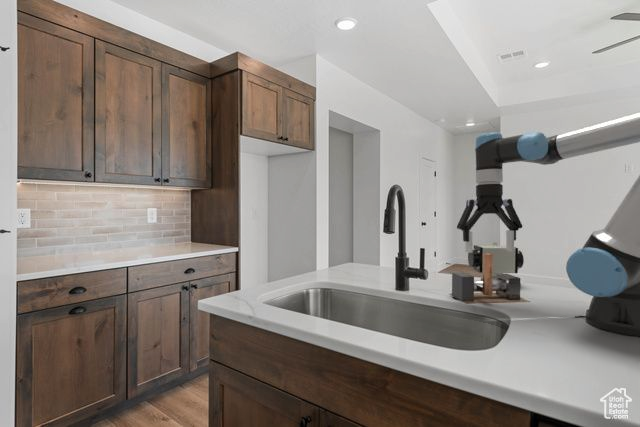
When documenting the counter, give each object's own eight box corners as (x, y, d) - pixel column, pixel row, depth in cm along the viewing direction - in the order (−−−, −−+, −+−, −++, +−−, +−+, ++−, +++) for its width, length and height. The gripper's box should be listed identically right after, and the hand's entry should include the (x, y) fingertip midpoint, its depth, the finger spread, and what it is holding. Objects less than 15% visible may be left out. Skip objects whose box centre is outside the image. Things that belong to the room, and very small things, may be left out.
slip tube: (514, 289, 120) (514, 249, 119) (535, 297, 109) (535, 253, 109) (458, 290, 118) (459, 250, 117) (474, 298, 108) (475, 254, 107)
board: (530, 304, 112) (531, 301, 112) (465, 306, 110) (465, 303, 110) (507, 294, 124) (507, 292, 124) (448, 295, 122) (448, 293, 122)
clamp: (520, 299, 114) (520, 278, 114) (508, 300, 114) (508, 278, 114) (506, 294, 121) (507, 273, 121) (495, 294, 121) (496, 274, 121)
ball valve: (513, 285, 137) (513, 241, 137) (523, 291, 129) (524, 243, 128) (466, 284, 139) (466, 240, 138) (473, 289, 131) (474, 242, 130)
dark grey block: (473, 301, 113) (474, 276, 112) (462, 301, 112) (462, 276, 112) (463, 295, 120) (463, 272, 119) (451, 295, 119) (452, 272, 119)
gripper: (518, 184, 113) (519, 249, 113) (445, 185, 111) (446, 251, 111) (534, 182, 106) (535, 252, 106) (456, 183, 103) (457, 254, 104)
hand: (489, 251), depth 108 cm, fingers open, 13 cm apart
